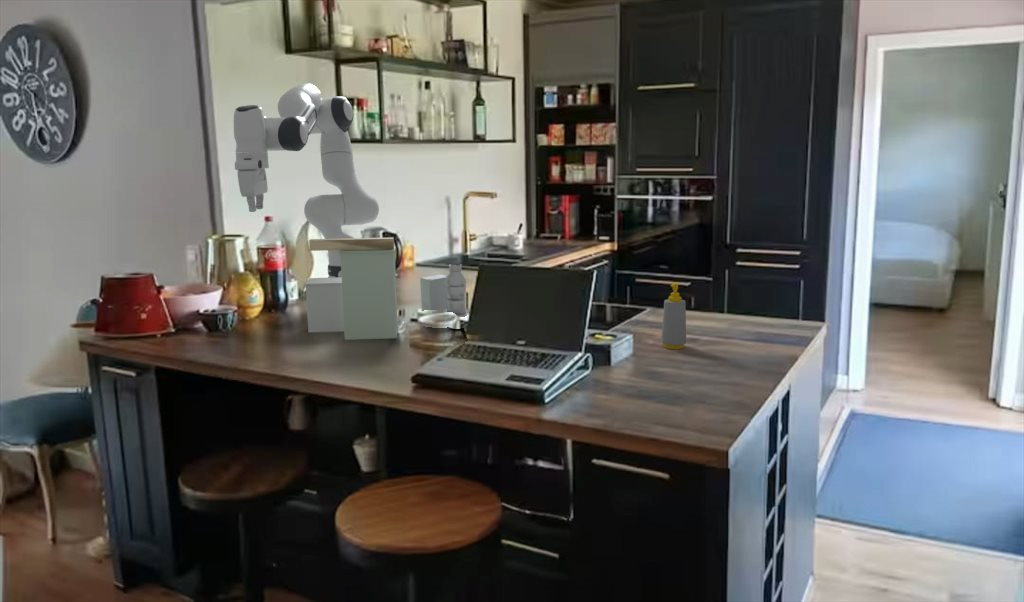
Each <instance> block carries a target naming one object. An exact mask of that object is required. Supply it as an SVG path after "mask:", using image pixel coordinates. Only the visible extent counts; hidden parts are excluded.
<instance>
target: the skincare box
mask: <svg viewBox="0 0 1024 602" xmlns="http://www.w3.org/2000/svg"><path fill="white" fill-rule="evenodd" d="M447 276H448V275H445V274H441V273H440V274H435V275H430V276H423V277H420V281H419V282H420V301H421V307H420V308H421V312H422V311H424V310H444V309H447V294H446V288H445V279H446V277H447Z"/></svg>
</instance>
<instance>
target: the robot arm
mask: <svg viewBox="0 0 1024 602" xmlns="http://www.w3.org/2000/svg"><path fill="white" fill-rule="evenodd" d="M233 112H234V113H233V137H234V139H235V143H236V146H235V147H236V148H235V161H234V169H235V170H236V171H237V180H238V181H237V182H238V187H239V192H240V195H241V197H243V198H245V197H246V202H247V206H248V212H250V213H255V212H257V210H262V209H264V194H266V193H268V190H269V189H268V188H269V187H268V178H267V172H266V169H269V166H270V165H269V156H268V155H269V154H268V151H271V152H272V151H275V152H276V151H288V152H299V151H302V149H304V148H305V146H306V145H307V143H308V140H309V135H311V134H312V135H313V134H314V135H315V134H320V145H319V147H320V148H319V149H320V150H319V151H320V160H321V161H320V163H321V171H322V173H321V174H322V177H323V179H324V180H325V181H326V182H327V183H329V184H330V185H332V186H335V187H337V188H338V190H340V192H341V193H336V194H320V195H319V194H318V195H315V196H312V197H309V198H308V199H307V201H306V202H305V204H304V209H303V212H304V217H305V218H306V220H307V222H308V223H309V224H310V225H312V226H313V227H315V228H316V229H317V230H318V231H319V232H320V233H321V235H322V236H323V239H346V238H354V237H353V236H351V235H349V234H346V233H344V232H343V230H342V227H343V226H352V225H353V226H357V225H358V226H360V225H365V224H370V223H374V221H376V220H377V218H378V215H379V212H380V209H379V208H380V207H379V203H378V201H377V199H376V198H375V196H373V195H372V194H371V193H369V192H368V191H366V190H365V189H364V187H362V185H361V183H360V182H359V180H358V178H357V174H356V169H355V164H354V155H353V148H352V143H351V138H350V134H349V129H350V127H351V126H352V123H353V121H354V114H355V113H354V109H353V106H352V104H351V102H350V100H348V99H347V97H346V96H333V97H324V98H323V96H322V93H321V91H320V90H319V89H318V87H317V86H315V85H313V84H312V83H307V82H305V83H301V84H298V85H296V86H295V85H294V86H293V87H292V88H290V89H289V90H287V91H286V92H284V94H282V95H281V97H280V98H279V100H278V102H277V113H278V115H279V116H280V117H267V116H265V115H264V113H263V108H262V106H259V105H255V104H254V105H253V104H252V105H250V104H249V105H241V106H238V107H236V108H235V109H234V111H233ZM339 251H340V250H327V255H328V256H327V257H328V264H327V275H328V277H327V278H336V277H342V275H341V256H340V254H339Z"/></svg>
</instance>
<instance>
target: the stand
mask: <svg viewBox="0 0 1024 602" xmlns="http://www.w3.org/2000/svg"><path fill="white" fill-rule="evenodd" d="M396 249H397V248H396V245H394V249H368V250H340V251H339V254H340V256H341V275H342V295H343V315H344V331H343V332H344V333H343V334H344V341H347V340H349V341H350V340H353V341H354V340H356V341H357V340H379V339H397V338H398V333H399V329H398V324H399V323H398V304H397V302H398V300H397V282H396V281H397V275H396Z"/></svg>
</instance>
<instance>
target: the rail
mask: <svg viewBox="0 0 1024 602" xmlns="http://www.w3.org/2000/svg"><path fill="white" fill-rule="evenodd" d="M308 243H309V244H308V245H309V251H310V252H316V251H317V252H319V251H328V250H368V249H394V246H395V238H394V237H364V238H363V237H362V238H361V237H353V238H346V239H325V238H310V239H309V240H308Z"/></svg>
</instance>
